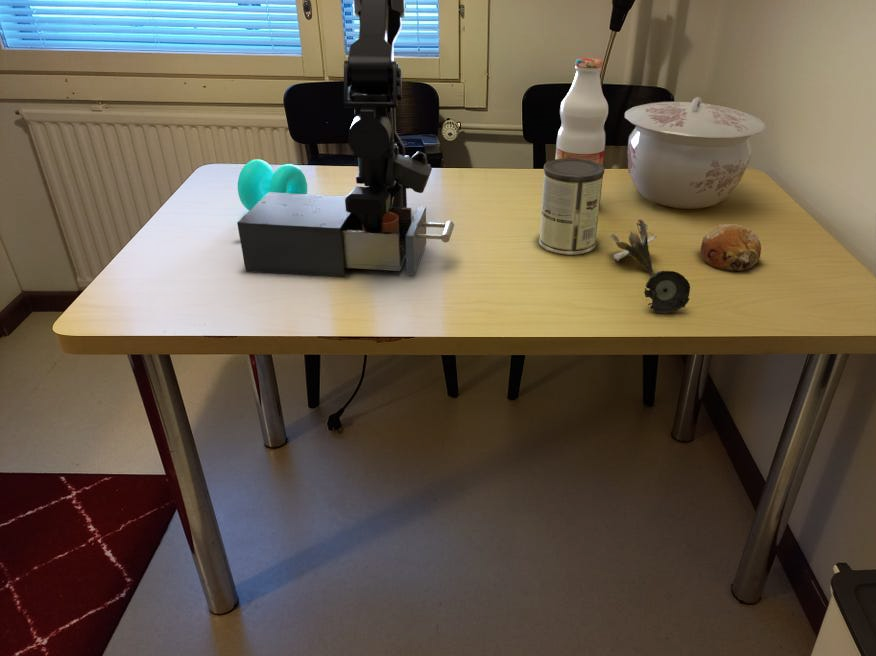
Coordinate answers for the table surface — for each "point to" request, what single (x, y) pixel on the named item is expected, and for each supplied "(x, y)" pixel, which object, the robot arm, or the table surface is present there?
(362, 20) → the robot arm
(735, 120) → the chamber pot
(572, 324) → the table surface
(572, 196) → the coffee can
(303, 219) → the black drawer cabinet
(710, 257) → the bread roll
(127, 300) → the table surface
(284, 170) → the donuts
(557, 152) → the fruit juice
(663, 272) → the artificial flower
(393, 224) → the flower pot
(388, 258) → the drawer
